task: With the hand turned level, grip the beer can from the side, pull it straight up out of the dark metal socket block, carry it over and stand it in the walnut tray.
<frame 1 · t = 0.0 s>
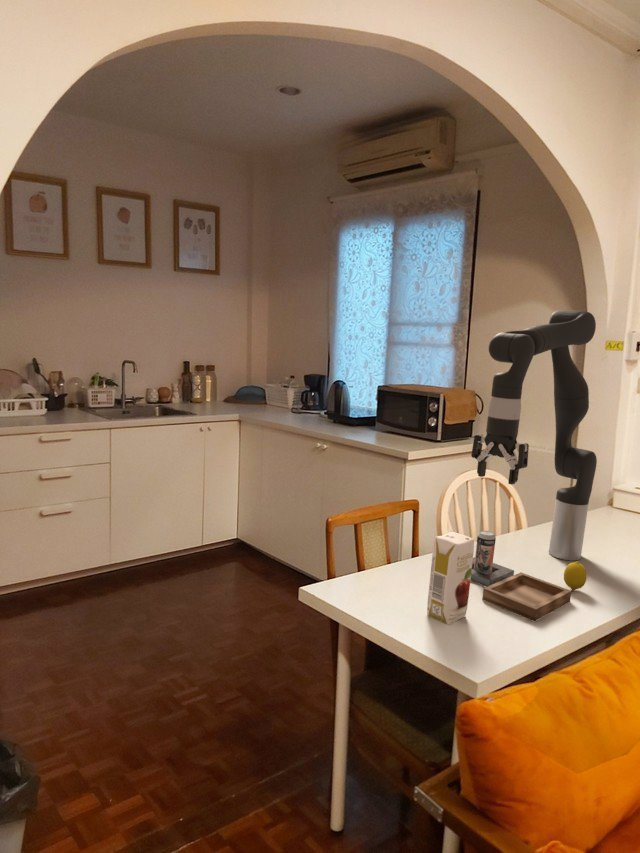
hand: (496, 480, 155), 29 cm above the table, tool pointing down, fingers open, 8 cm apart
beer can: (482, 575, 171), resting in socket block
juice carton: (446, 616, 144), on the table
socket block: (482, 574, 171), on the table
tray: (526, 600, 156), on the table
lemon: (572, 591, 164), on the table
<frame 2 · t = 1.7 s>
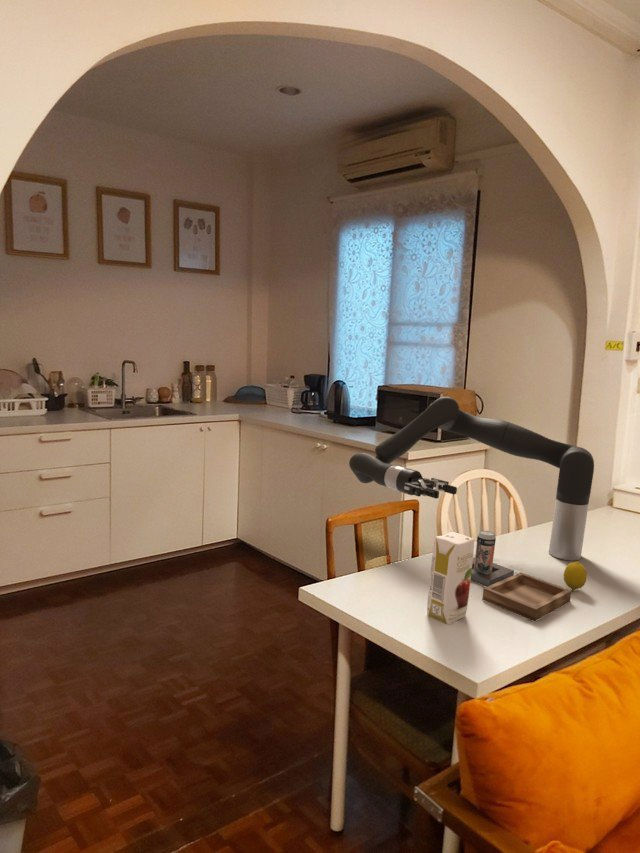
hand: (447, 493, 177), 20 cm above the table, tool horizontal, fingers open, 8 cm apart
nothing on the table moved.
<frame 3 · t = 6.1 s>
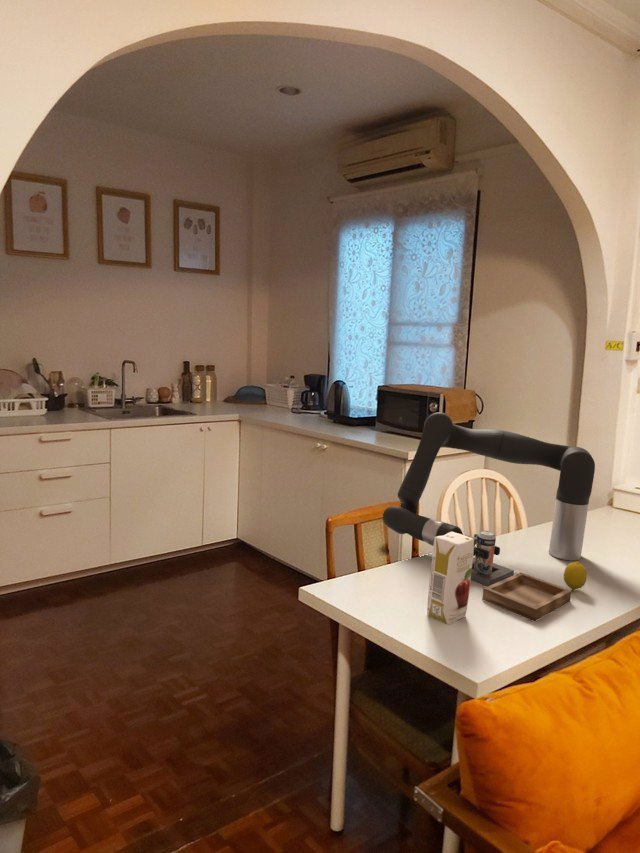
hand: (493, 553, 168), 7 cm above the table, tool horizontal, fingers closed on beer can, 4 cm apart
beer can: (482, 575, 171), resting in socket block, touching gripper
everything else where it was.
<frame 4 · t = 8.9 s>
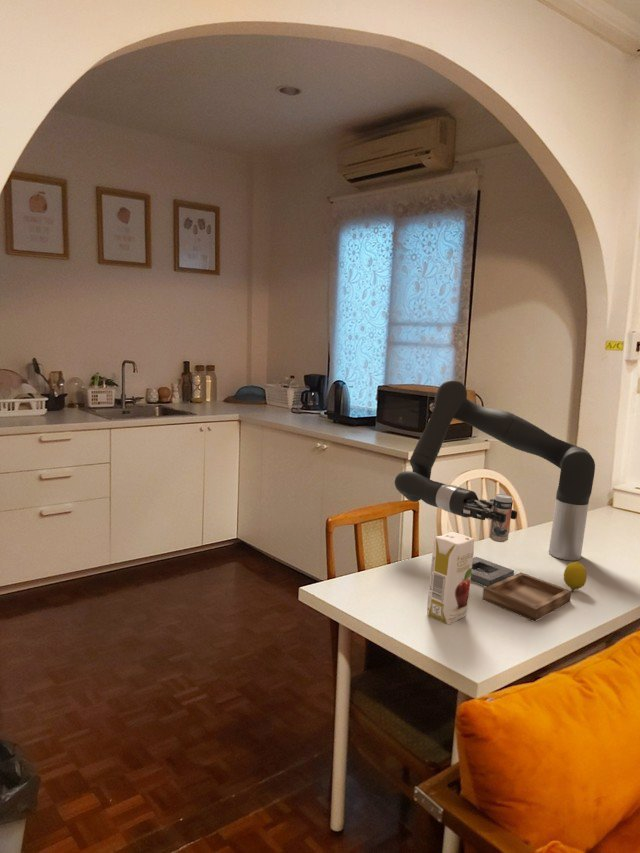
hand: (510, 517, 162), 19 cm above the table, tool horizontal, fingers closed on beer can, 4 cm apart
beer can: (498, 540, 165), point 11 cm above the table, touching gripper
everything else where it was.
when the fingers open (10 cm above the table, at t = 11.7 s): beer can drops 2 cm, resting on tray.
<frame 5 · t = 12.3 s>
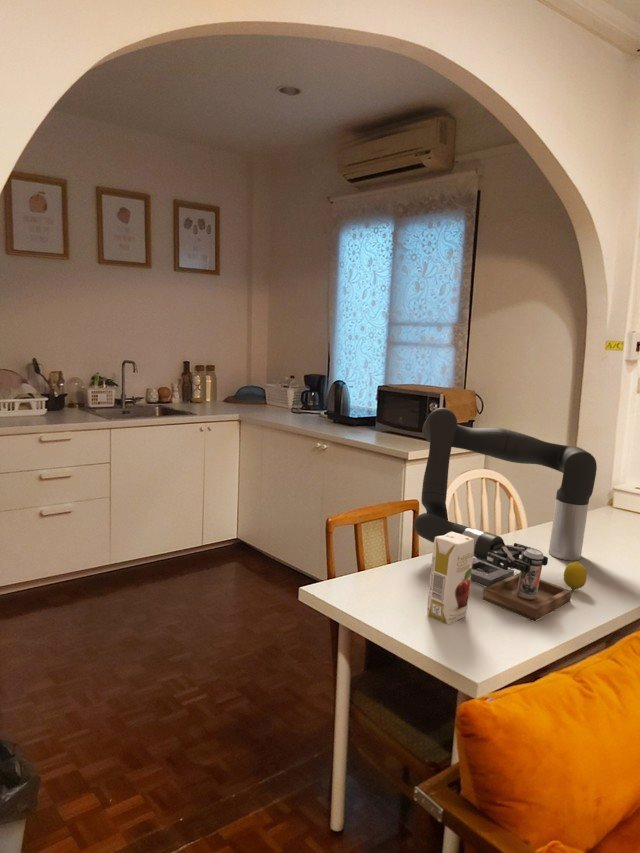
hand: (538, 565, 153), 10 cm above the table, tool horizontal, fingers open, 8 cm apart
beer can: (526, 597, 156), point 1 cm above the table, touching tray
everything else where it was.
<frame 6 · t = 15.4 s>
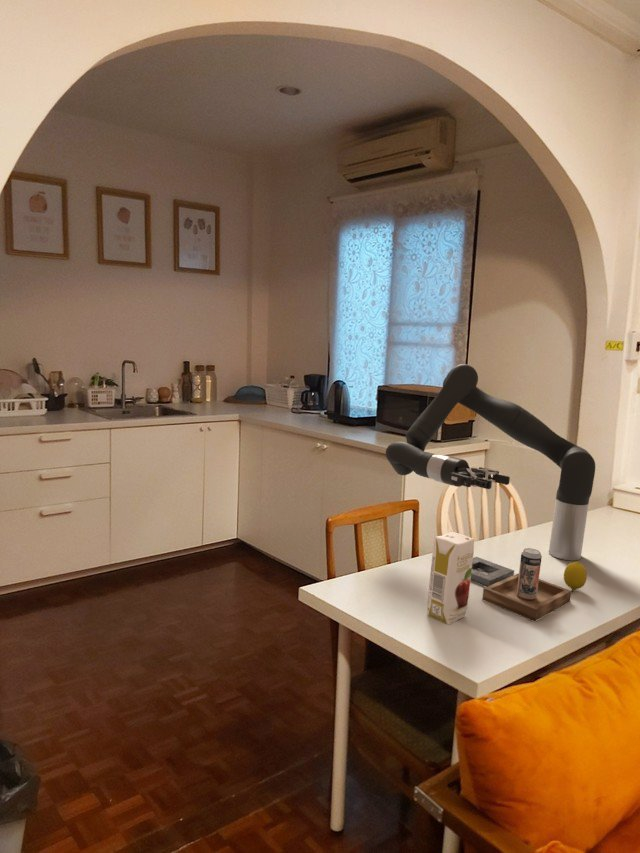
hand: (500, 483, 159), 28 cm above the table, tool horizontal, fingers open, 8 cm apart
nothing on the table moved.
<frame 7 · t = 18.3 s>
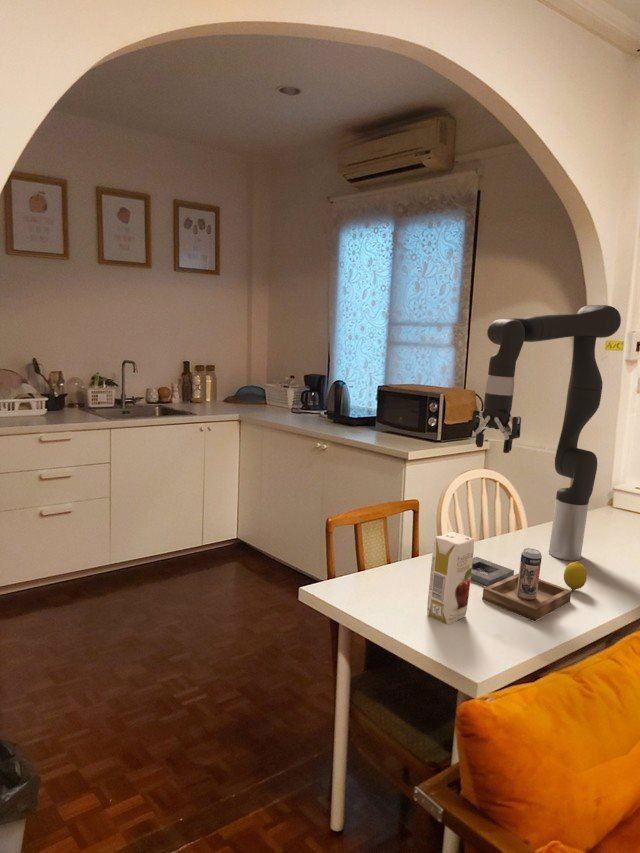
hand: (492, 449, 175), 33 cm above the table, tool pointing down, fingers open, 8 cm apart
nothing on the table moved.
at the end: beer can inside the target area on the tray (0.1 cm from its centre), point 0.8 cm above the tray's base; beer can tilted 0°; the gripper is holding nothing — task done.
